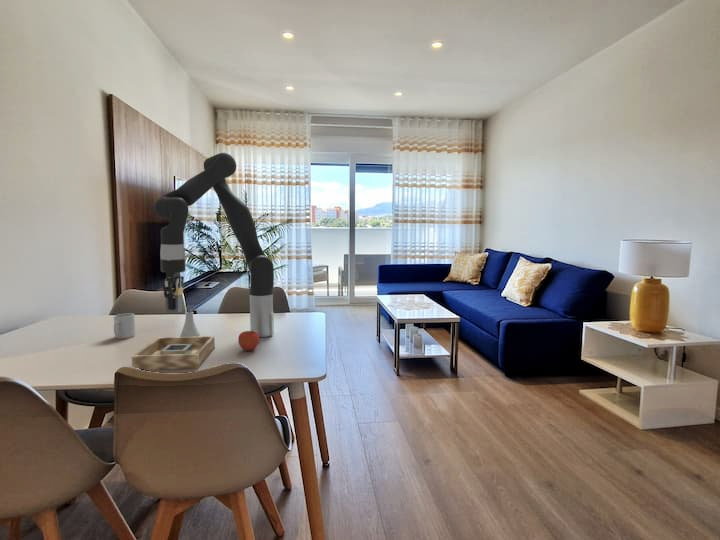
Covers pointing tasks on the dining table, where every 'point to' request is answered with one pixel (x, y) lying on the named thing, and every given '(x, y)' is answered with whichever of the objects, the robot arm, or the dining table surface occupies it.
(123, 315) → the cup
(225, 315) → the dining table surface
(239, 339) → the apple
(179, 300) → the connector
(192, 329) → the flask
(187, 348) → the frame
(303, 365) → the dining table surface
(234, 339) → the dining table surface
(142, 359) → the walled box
